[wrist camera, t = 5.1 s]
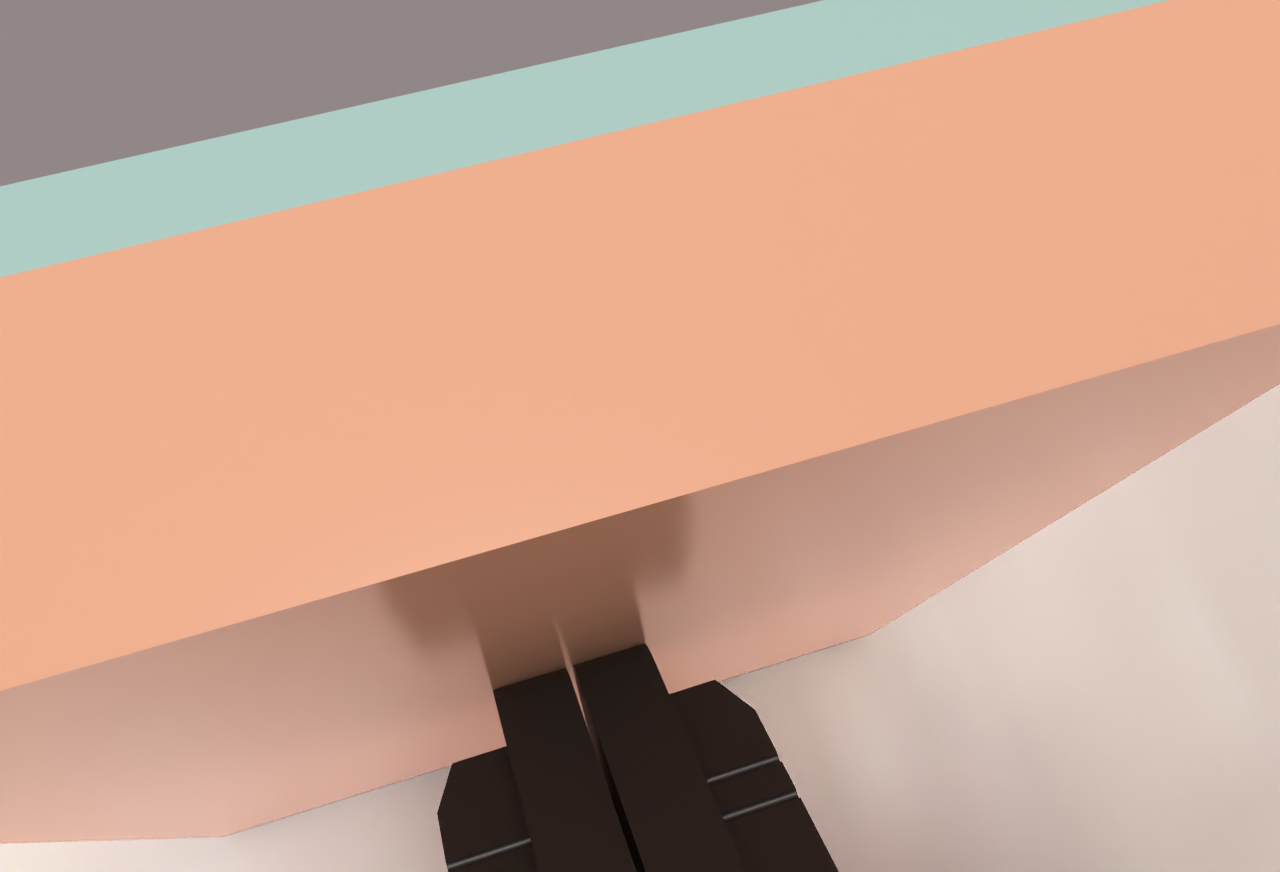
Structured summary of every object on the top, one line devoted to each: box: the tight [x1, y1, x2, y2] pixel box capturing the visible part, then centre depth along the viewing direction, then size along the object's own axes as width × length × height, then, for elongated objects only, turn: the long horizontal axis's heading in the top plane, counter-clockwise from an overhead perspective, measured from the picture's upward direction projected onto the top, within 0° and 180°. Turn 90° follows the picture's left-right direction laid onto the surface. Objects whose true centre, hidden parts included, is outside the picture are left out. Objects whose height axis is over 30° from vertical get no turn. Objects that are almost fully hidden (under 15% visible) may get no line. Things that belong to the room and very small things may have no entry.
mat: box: [0, 0, 822, 186], centre depth 20 cm, size 16×13×1 cm
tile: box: [0, 0, 1280, 844], centre depth 12 cm, size 10×2×13 cm, turn 107°
